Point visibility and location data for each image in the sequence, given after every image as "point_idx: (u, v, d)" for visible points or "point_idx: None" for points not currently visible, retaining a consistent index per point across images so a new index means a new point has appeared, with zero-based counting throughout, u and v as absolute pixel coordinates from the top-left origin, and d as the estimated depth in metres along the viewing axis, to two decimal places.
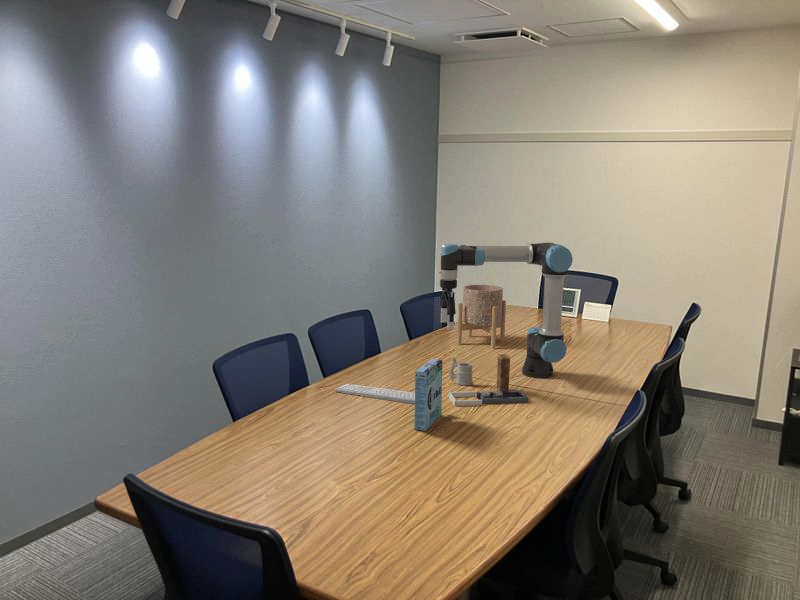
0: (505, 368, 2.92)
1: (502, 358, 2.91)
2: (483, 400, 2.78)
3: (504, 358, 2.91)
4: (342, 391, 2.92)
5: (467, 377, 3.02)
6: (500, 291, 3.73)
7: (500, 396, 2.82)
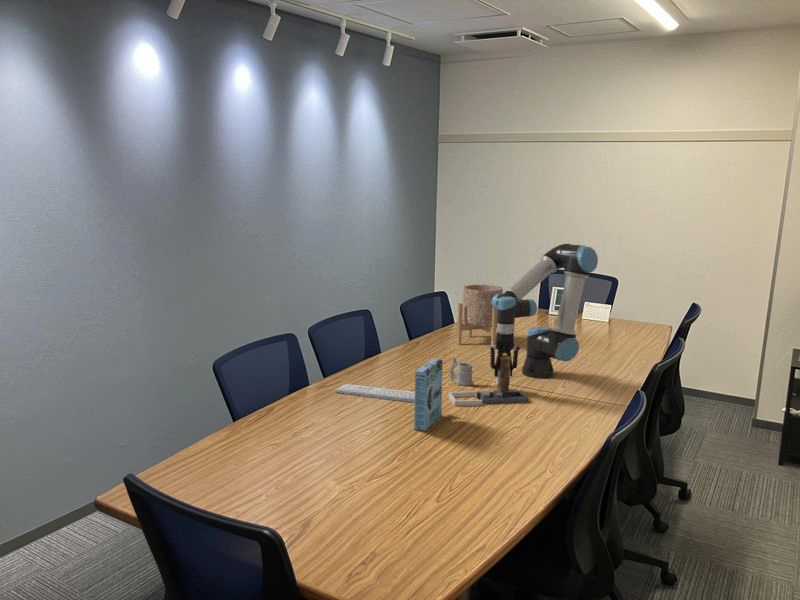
0: (506, 368, 2.92)
1: (502, 358, 2.91)
2: (483, 400, 2.78)
3: (504, 358, 2.91)
4: (342, 391, 2.91)
5: (467, 377, 3.02)
6: (500, 291, 3.73)
7: (500, 396, 2.82)
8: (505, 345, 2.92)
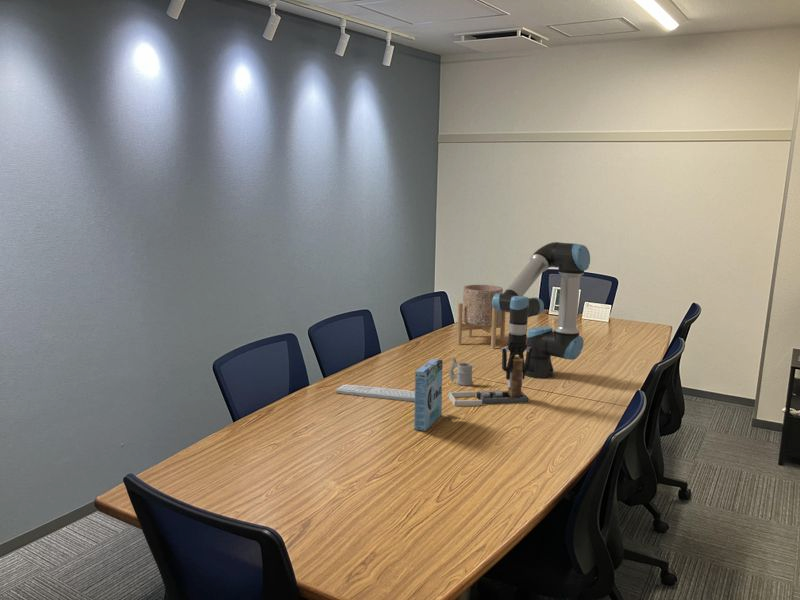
0: (518, 370, 2.80)
1: (514, 360, 2.79)
2: (483, 400, 2.78)
3: (516, 360, 2.79)
4: (342, 392, 2.91)
5: (467, 377, 3.02)
6: (500, 291, 3.73)
7: (500, 396, 2.82)
8: (517, 346, 2.80)
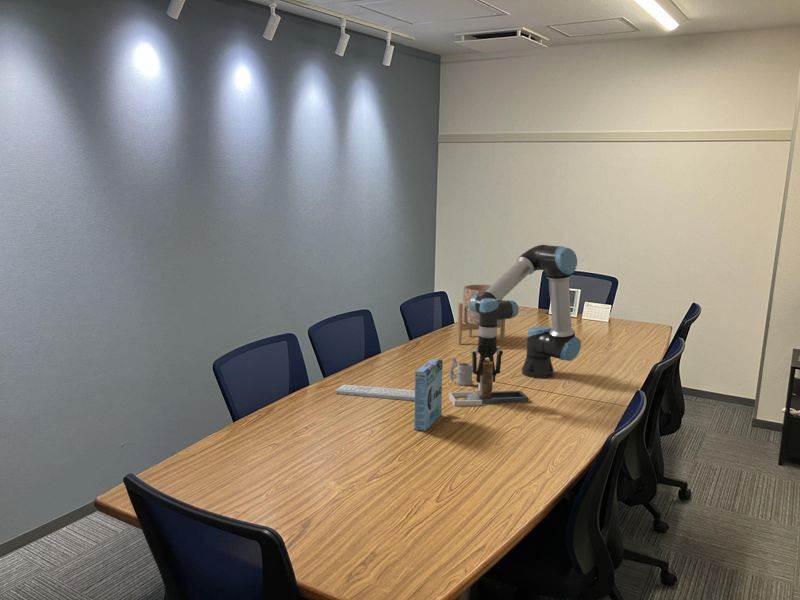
0: (488, 373, 2.78)
1: (484, 363, 2.77)
2: (483, 400, 2.78)
3: (486, 363, 2.77)
4: (343, 392, 2.90)
5: (467, 377, 3.02)
6: None
7: (479, 397, 2.80)
8: (487, 349, 2.78)
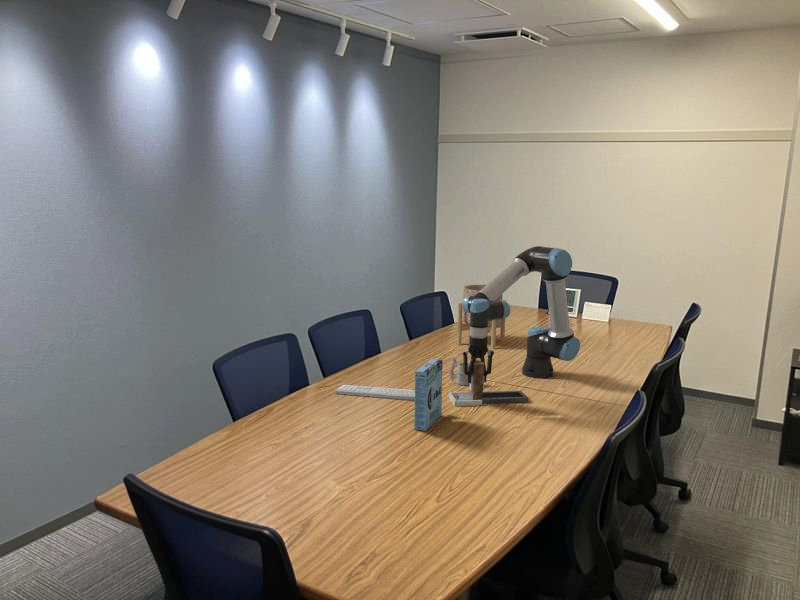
0: (479, 374, 2.78)
1: (475, 364, 2.77)
2: (483, 400, 2.78)
3: (477, 364, 2.77)
4: (343, 392, 2.90)
5: (467, 377, 3.02)
6: None
7: (470, 398, 2.80)
8: (478, 350, 2.77)
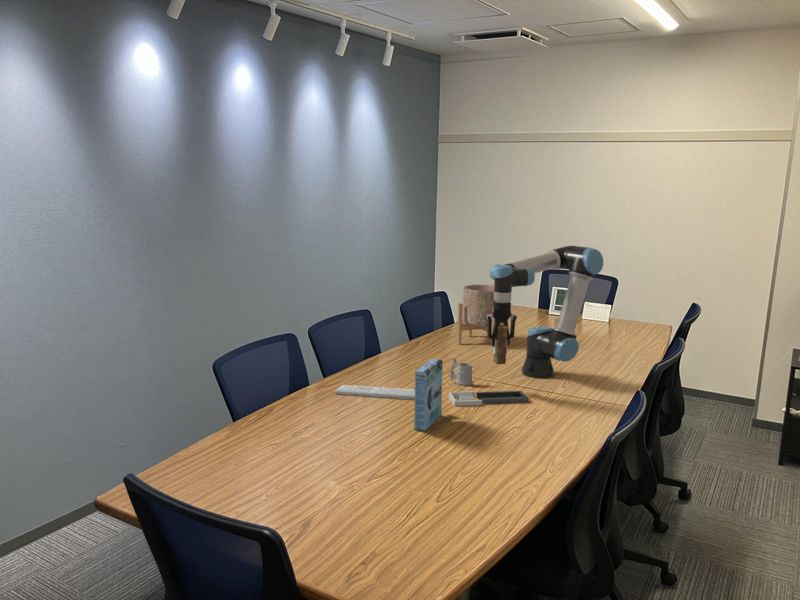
0: (503, 337, 2.89)
1: (499, 327, 2.88)
2: (483, 400, 2.78)
3: (501, 327, 2.88)
4: (343, 392, 2.90)
5: (467, 377, 3.02)
6: None
7: (470, 398, 2.80)
8: (502, 314, 2.89)
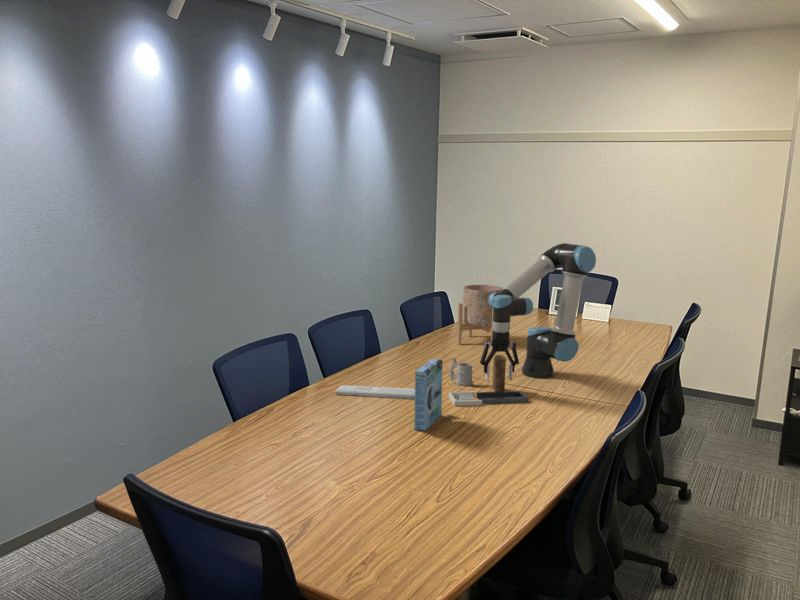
0: (501, 368, 2.92)
1: (498, 358, 2.91)
2: (483, 400, 2.78)
3: (500, 358, 2.91)
4: (343, 393, 2.89)
5: (467, 377, 3.02)
6: (500, 291, 3.73)
7: (470, 398, 2.80)
8: (501, 343, 2.91)
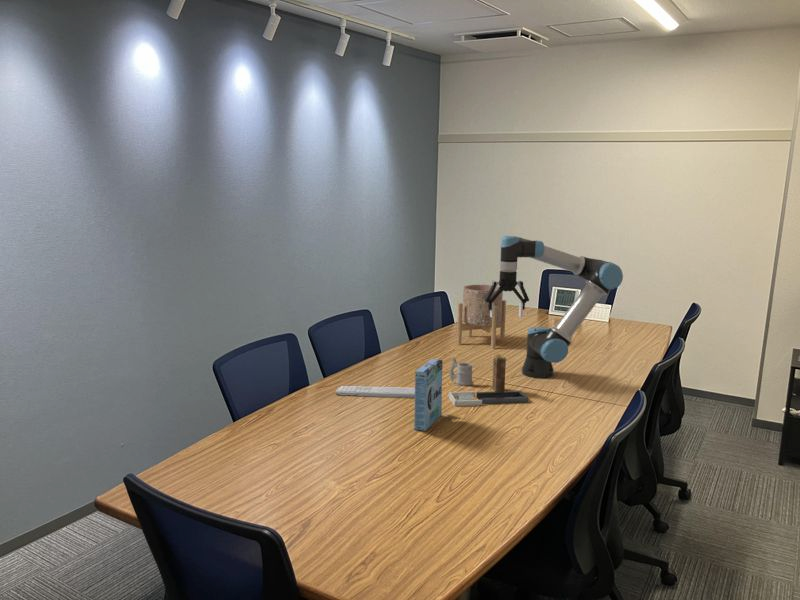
0: (501, 368, 2.92)
1: (498, 358, 2.91)
2: (483, 400, 2.78)
3: (500, 358, 2.91)
4: (344, 393, 2.89)
5: (467, 377, 3.02)
6: None
7: (470, 398, 2.80)
8: (508, 283, 2.99)
